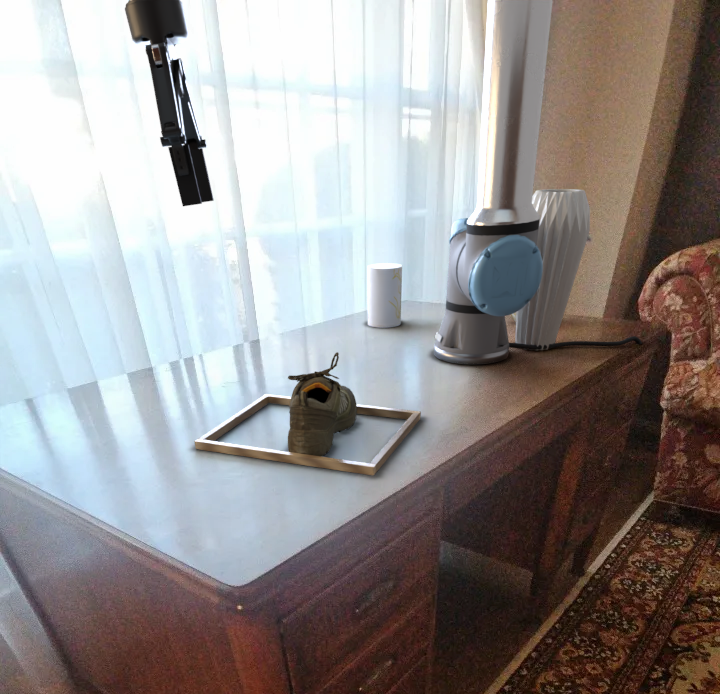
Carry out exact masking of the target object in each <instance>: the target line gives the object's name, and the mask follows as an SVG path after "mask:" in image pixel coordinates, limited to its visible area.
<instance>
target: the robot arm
mask: <svg viewBox="0 0 720 694" xmlns="http://www.w3.org/2000/svg"><path fill="white" fill-rule="evenodd" d="M126 1H127V2H126V4H125V7H124V12H125V16H126V19H127V23H128V27H129V31H130V32H129V33H130V35H131V40H132V42H133V44H134V45H135V46H137V47H139V48H145V54H146V56H147V59H148V65H149V68H150V73H151V74H150V75H151V80H152V86H153V91H154V97H155V103H156V107H157V108H156V109H157V115H158V118H159V124H160V130H161V131H160V133H161V136H159V140H160V144H161V147H162V148H166V147H167V148H168V152H169V156H170V161H171V164H172V168H173V172H174V177H175V181H176V184H177V189H178V192H179V197H180V201H181V205H182V207H189V206H194V205H202V204H203V203H207V202H214V201H215V199H214V195H213V191H212V185H211V182H210V177H209V173H208V168H207V163H206V159H205V154H204V149H206V148H208V147H207V146H208V145H207V142H206V139H204V138H203V136H202V135H201V130H200V127H199V123H198V119H197V116H196V111H195V108H194V104H193V101H192V97H191V93H190V89H189V85H188V82H187V77H186V76H187V75H186V68H185V66H184V62H183V61H182V58H178V55H177V52H176V49H175V46H176V45H179V44H182V43H185V42H187V41H188V39H189V37H190V34H189V27H188V24H187V19H186V13H185V9H184V5H183V1H181V0H126ZM553 1H554V0H487V10H486V11H487V12H486V27H485V28H486V29H485V46H484V49H485V50H484V69H483V86H482V105H481V122H480V145H479V163H478V180H477V181H478V182H477V197H476V198H477V200H476V207H475V209H474V210H473V212H472V213H471V214H470V215H469V217H463V218H458V219H456V220H455V221H454V222H453V223H452V225H451V231H450V237H449V240H448V243H449V244H448V245H449V251H448V252H449V253H448V268H447V269H448V270H447V283H446V284H447V286H446V296H445V297H446V298H445V299H446V300H445V312H444V315H443V318H442V321H441V324H440V326H439V330H438V331H436V333H435V336H434V338H435V341H434V344H433V355H434V357H435V358H436V359H439V360H441V361H444V362H447V363H450V364H451V363H452V364H459V365H489V364H495V363H498V362H501V361H504V360H506V359H507V358H508V356H509V352H510V351H509V350H510V349H511V348H512V349H521V350H522V349H523V350H525V349H526V350H529V349H530V350H529V351H536V349H538V350H537V351H541V350H540V349H542V346H541V345H539V346H538V347H537V345H528V344H520V343H515V342H510V341H509V334H508V329H507V322H506V321H507V320H506V317H507V316H511V315H510V314H513V313H515V312H517V311H519V310H520V309H522V308H523V307H524V306H525V305H526V304H527V303H528V302H529V301H530V300H531V299H532V298H533V296H534V295H535V293H536V291H537V289H538V287H539V285H540V282H541V278H542V273H543V262H542V257H541V253H540V251H539V249H538V247H537V240H538V231H539V221H540V215H539V214H538V212H537V211H536V210H535V208H534V207H533V204H532V197H533V195H534V185H535V175H536V165H537V157H538V148H539V139H540V138H539V137H540V128H541V127H540V126H541V117H542V108H543V97H544V90H545V89H544V88H545V79H546V69H547V60H548V59H547V58H548V51H549V50H548V49H549V40H550V30H551V21H552V12H553V11H552V10H553V3H554V2H553ZM630 342H635V344H636V345H642V344H643V342H642V341H641V339H640V338H639V337H638V336H635V335H632V336H630V337H627V338H624V339H622V340H618V341H591V340H574V341H573V340H571V341H561V342H555V343H553V344H549V347H548V350H550V348H551V349H557V348H563V347H618V346H619V347H620V346H623V345H626V344H628V343H630ZM546 348H547V346H546V345H544V348H543V350H544V349H546Z"/></svg>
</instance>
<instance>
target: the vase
mask: <svg viewBox="0 0 720 694" xmlns="http://www.w3.org/2000/svg"><path fill="white" fill-rule="evenodd" d="M532 204H533V207H534V208H535V210H536V211H537V212H538V214H539V215H540V221H539V231H538V240H537V247H538V249H539V251H540V253H541V257H542V262H543V273H542V278H541V282H540V285H539V287H538V289H537V291H536V293H535V295H534V296H533V298H532V299H531V300H530V301H529V302H528V303H527V304H526V305H525V306H524V307H523V308H522V309H520V310H519V311H517V312H516V322H515V335H514V336H515V339H514V343H520V344H528V345H537V347H538V346H539V345H541V346H542V349H540V350H538V349H536V350H535V351H544V350H546V351H547V350H550V349H552V348H550V349H548V347H549V344H553V343H556V342H557V341H556V340H557V338H558V334H559V331H560V328H561V325H562V322H563V318H564V316H565V312H566V309H567V305H568V302H569V299H570V295H571V292H572V289H573V287H574V282H575V280H576V278H577V277H576V276H577V273H578V270H579V267H580V264H581V260H582V258H583V253H584V251H585V248H586V244H587V241H588V237H589V234H590V232H591V207H590V204H589V200H588V197H587V192H586V190H584V189H578V188H577V189H576V188H575V189H573V188H551V189H550V188H549V189H537V190H535V192H533V196H532ZM544 345H546V346H547V348H546V349H543V348H544ZM524 350H525V351H526V350H527V349H524ZM528 350H529V351H531V350H530V349H528Z"/></svg>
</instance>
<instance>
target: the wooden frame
mask: <svg viewBox="0 0 720 694" xmlns="http://www.w3.org/2000/svg"><path fill="white" fill-rule="evenodd" d="M290 401H291V396H288V395H280V394H279V395H277V394H269V393H264V394H263V395H262V396H260V397H259V398H257V399H256V400H254V401H252V402H251V403H249V404H248V405H246V406H245V407H244V408H242V409H241V410H239V411H238V412H236V413H235V414H233V415H232V416H230V417H228V418H227V419H225V420H224V421H223V422H221V423H220V424H218V425H216V426H215V427H214V428H212V429H210V430H209V431H208V432H206V433H205V434H203V435H201V436H200V437H198V438H197V439H196V440H194V441H193V442H194V446H195V450H201V451H205V452H213V453H220V454H226V455H227V454H228V455H233V456H241V457H246V458H247V457H248V458H253V459H260V460H267V461H274V462H280V463H286V464H293V465H300V466H306V467H307V466H308V467H314V468H320V469H327V470H333V471H341V472H345V473H346V472H347V473H353V474H360V475H366V476H372V477H373V476H375V475H376V474H377V472H378V471H379V470H380V469H381V468H382V466H383V465H384V464H385V463H386V461H388V460H389V458H390V457H391V456H392V455H393V453H394V452H395V451H396V449H397V448H398V447H399V445H400V444H402V442H403V441H405V439H406V437H407V436H409V434H410V432H411V431H412V430H413V429H414V427H415V426H416V425H417V424H418V422H420V420H421V419H422V418H421V417H422V412H421V411H419V410H411V409H403V408H394V407H385V406H375V405H367V404H359V403H358V404H357V403H356V405H357V414H358V415H366V416H373V417H374V416H375V417H382V418H392V419H399V420H405V422H404V423H403V424H402V425H401V426H400V428H399V429H398V430H397V431H396V432H395V433H394V434H393V435H392V437H391V438H389V440H388V442H386V444H385V445H384V446H383V447H382V448H381V449H380V451H379V452H378V453H377V454H376V455H375V456H374V458H373V459H372V460H371V461H370V462H369V463H368V462H362V461H355V460H348V459H341V458H334V457H327V456H314V455H307V454H300V453H293V452H289V451H287V450H286V451H285V450H278V449H272V448H264V447H257V446H251V445H243V444H238V443H230V442H223V441H216V440H218V439H219V438H220V437H222V436H223V435H225V434H226V433H228V432H229V431H231V430H232V429H233V428H235V427H237V426H238V425H240V424H241V423H242V422H244V421H245V420H247V419H248V418H249V417H251V416H253V415H255V413H257V412H258V411H259V410H261V409H262V408H264V407H265V406H267V405H268V404H274V405H280V406H281V405H282V406H289V407H290ZM357 414H356V415H357Z"/></svg>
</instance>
